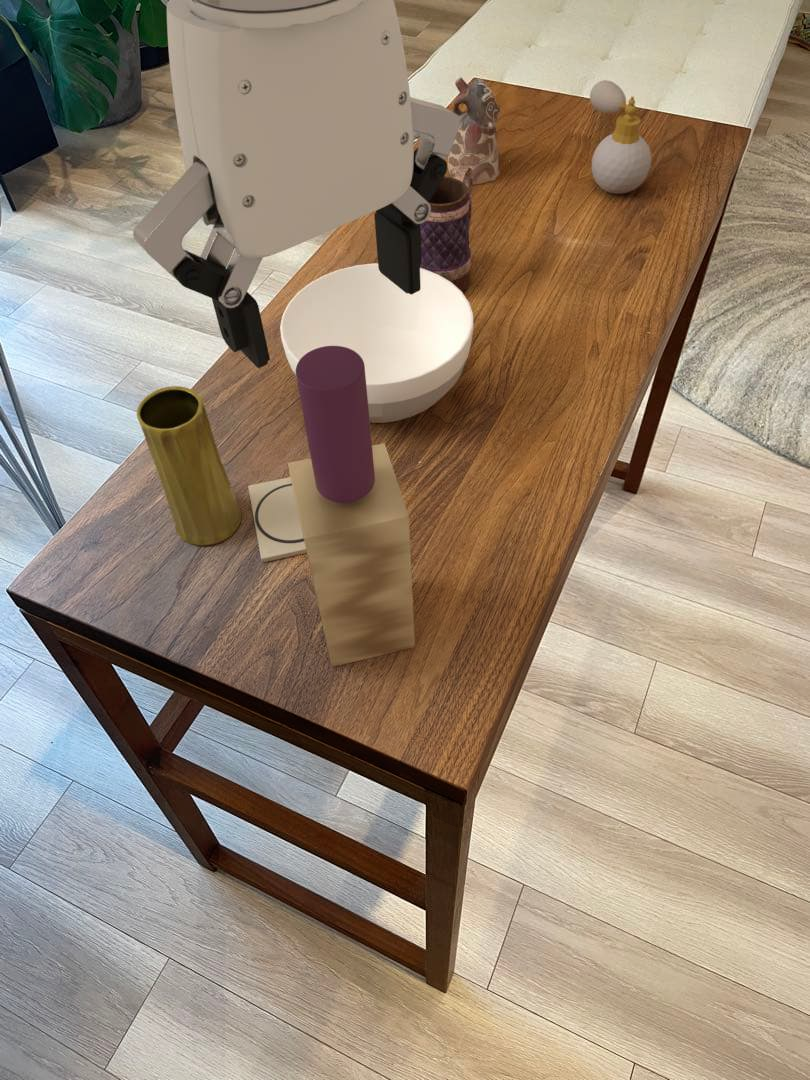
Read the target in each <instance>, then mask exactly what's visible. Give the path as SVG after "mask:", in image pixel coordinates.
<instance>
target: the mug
mask: <svg viewBox="0 0 810 1080" xmlns="http://www.w3.org/2000/svg"><path fill="white" fill-rule="evenodd" d="M473 186H474V185H473V174H472V169H471V168H470V167H469V166H468V165H467V164H456V166H455V167H454V169H453V171H452V173H451V176H446V175H445V176H444V178H443V179H442V181H441V183H440V184H439V186H438V188H437V189H436V191H435V193H434V194H433V196H432V197H431V199H430V201H429V202H428V203H429V204H430V206H431V212H430V215H429V217H428V219H427V220H426V221H425V222H424V223H422V224H420V225H421V259H422V261H421V265H420V268H422V269H425V270H428V271H430V272H433V273H435V274H438V275H440V276H442V277H443V278H445V279H447V280H448V281H450V282H452V283H453V284H454V285H455V286H456V287H457V288H458V289H459V290H460V291H462V293H464V291H465V290H466V289H468V287H469V285H470V280H471V279H470V270H471V267H472V250H471V248H470V229H471V225H472V204H473V203H472V201H473Z"/></svg>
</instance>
